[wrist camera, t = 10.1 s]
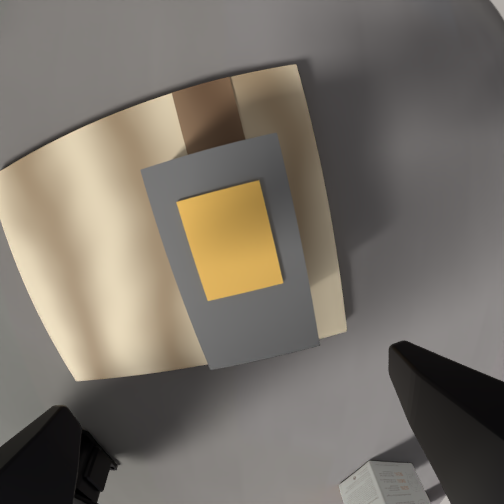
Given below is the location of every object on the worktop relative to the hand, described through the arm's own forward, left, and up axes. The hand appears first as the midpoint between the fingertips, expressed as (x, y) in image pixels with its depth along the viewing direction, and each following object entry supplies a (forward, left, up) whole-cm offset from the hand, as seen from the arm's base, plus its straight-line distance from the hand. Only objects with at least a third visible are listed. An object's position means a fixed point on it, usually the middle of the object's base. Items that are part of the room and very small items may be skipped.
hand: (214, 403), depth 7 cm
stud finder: (+1, +1, -11) cm, 11 cm away
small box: (+9, -31, -12) cm, 34 cm away
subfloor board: (-4, +1, -12) cm, 12 cm away
